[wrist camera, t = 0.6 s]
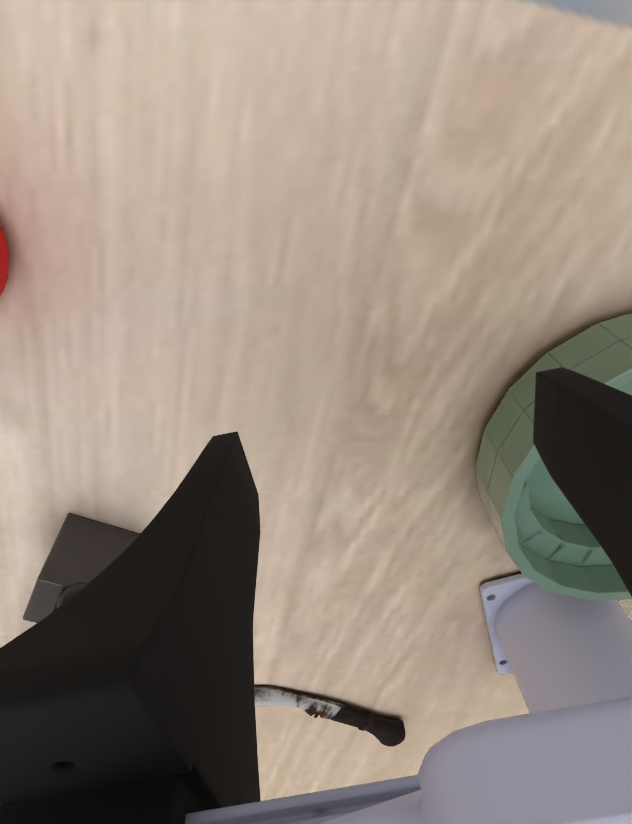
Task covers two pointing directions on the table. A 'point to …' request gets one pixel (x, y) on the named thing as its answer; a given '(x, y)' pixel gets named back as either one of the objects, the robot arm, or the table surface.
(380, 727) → the knife
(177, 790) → the robot arm
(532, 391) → the bowl
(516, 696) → the table surface
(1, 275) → the beverage can
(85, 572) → the dark grey cube
